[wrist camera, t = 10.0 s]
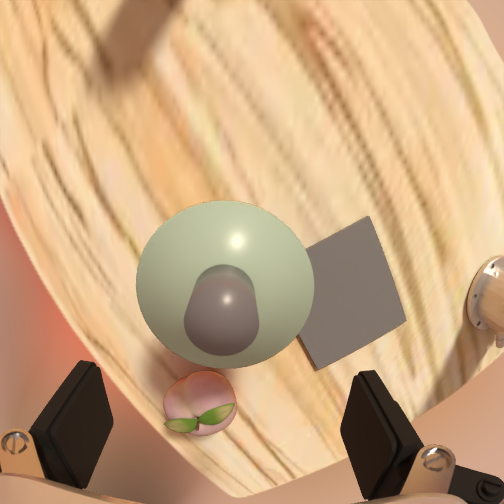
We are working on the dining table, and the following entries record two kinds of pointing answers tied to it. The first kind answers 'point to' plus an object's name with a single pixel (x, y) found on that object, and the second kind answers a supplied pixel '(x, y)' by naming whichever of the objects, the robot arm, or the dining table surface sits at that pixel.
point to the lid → (225, 284)
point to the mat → (349, 294)
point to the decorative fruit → (200, 404)
